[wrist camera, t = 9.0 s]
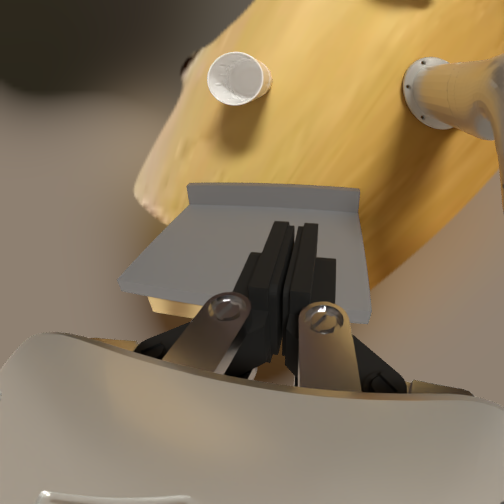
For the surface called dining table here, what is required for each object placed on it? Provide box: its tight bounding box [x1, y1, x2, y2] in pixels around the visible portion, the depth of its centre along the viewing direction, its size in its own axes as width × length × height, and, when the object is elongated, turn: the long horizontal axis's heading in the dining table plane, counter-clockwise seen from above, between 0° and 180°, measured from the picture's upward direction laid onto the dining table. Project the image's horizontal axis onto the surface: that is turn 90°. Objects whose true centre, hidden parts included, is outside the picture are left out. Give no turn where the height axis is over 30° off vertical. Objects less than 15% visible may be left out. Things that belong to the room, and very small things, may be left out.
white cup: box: [207, 52, 273, 106], centre depth 37 cm, size 8×8×10 cm
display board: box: [117, 183, 372, 324], centre depth 43 cm, size 32×10×26 cm, turn 93°
